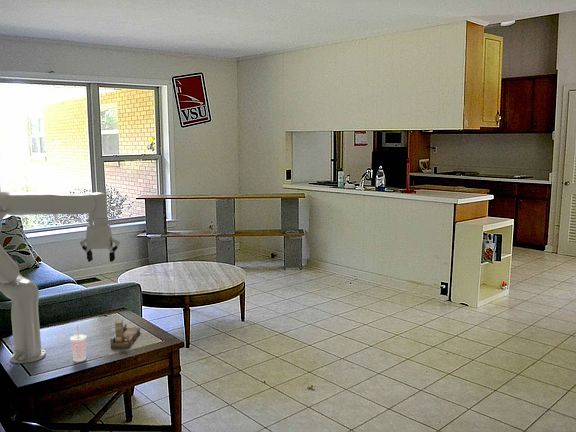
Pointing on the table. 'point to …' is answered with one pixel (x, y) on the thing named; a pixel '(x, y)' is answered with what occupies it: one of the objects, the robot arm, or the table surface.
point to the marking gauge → (119, 332)
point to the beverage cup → (78, 346)
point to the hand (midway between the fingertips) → (101, 261)
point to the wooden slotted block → (125, 343)
